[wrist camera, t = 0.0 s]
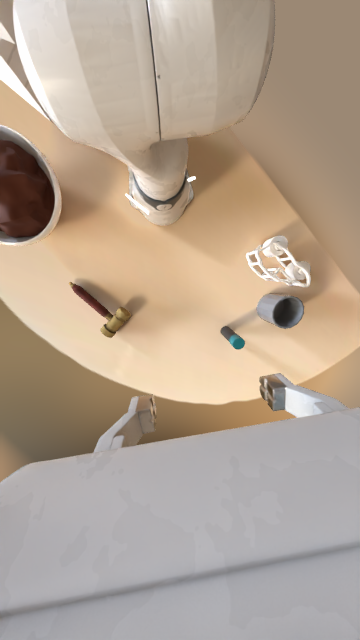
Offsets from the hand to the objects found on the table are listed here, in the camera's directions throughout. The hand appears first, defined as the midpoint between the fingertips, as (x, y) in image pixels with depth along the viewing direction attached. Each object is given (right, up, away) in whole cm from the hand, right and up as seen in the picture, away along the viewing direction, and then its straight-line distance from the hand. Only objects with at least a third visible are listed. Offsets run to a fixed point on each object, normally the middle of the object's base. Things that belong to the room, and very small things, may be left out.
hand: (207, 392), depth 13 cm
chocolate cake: (-44, +39, +37) cm, 69 cm away
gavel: (-29, +11, +45) cm, 55 cm away
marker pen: (+14, +2, +50) cm, 52 cm away
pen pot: (+30, +10, +49) cm, 59 cm away
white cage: (+29, +24, +46) cm, 59 cm away
